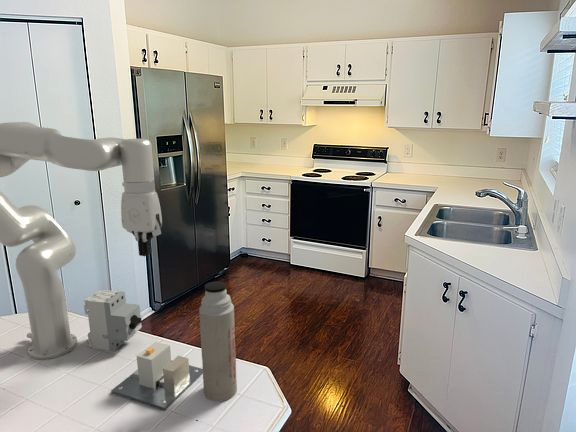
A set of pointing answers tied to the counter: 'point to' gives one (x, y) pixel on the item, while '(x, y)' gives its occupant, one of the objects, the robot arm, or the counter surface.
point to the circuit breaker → (111, 319)
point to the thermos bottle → (218, 343)
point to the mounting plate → (161, 384)
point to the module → (153, 363)
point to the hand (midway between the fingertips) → (145, 254)
